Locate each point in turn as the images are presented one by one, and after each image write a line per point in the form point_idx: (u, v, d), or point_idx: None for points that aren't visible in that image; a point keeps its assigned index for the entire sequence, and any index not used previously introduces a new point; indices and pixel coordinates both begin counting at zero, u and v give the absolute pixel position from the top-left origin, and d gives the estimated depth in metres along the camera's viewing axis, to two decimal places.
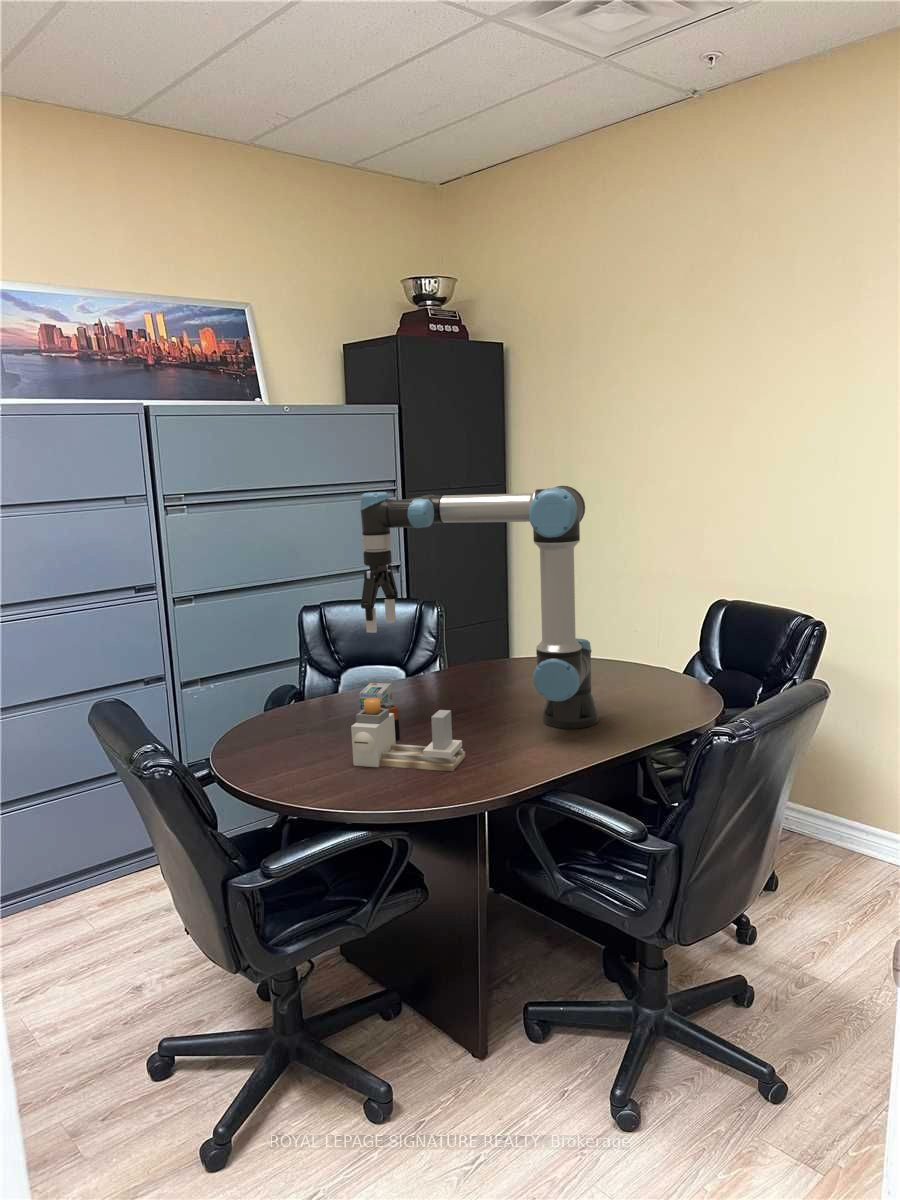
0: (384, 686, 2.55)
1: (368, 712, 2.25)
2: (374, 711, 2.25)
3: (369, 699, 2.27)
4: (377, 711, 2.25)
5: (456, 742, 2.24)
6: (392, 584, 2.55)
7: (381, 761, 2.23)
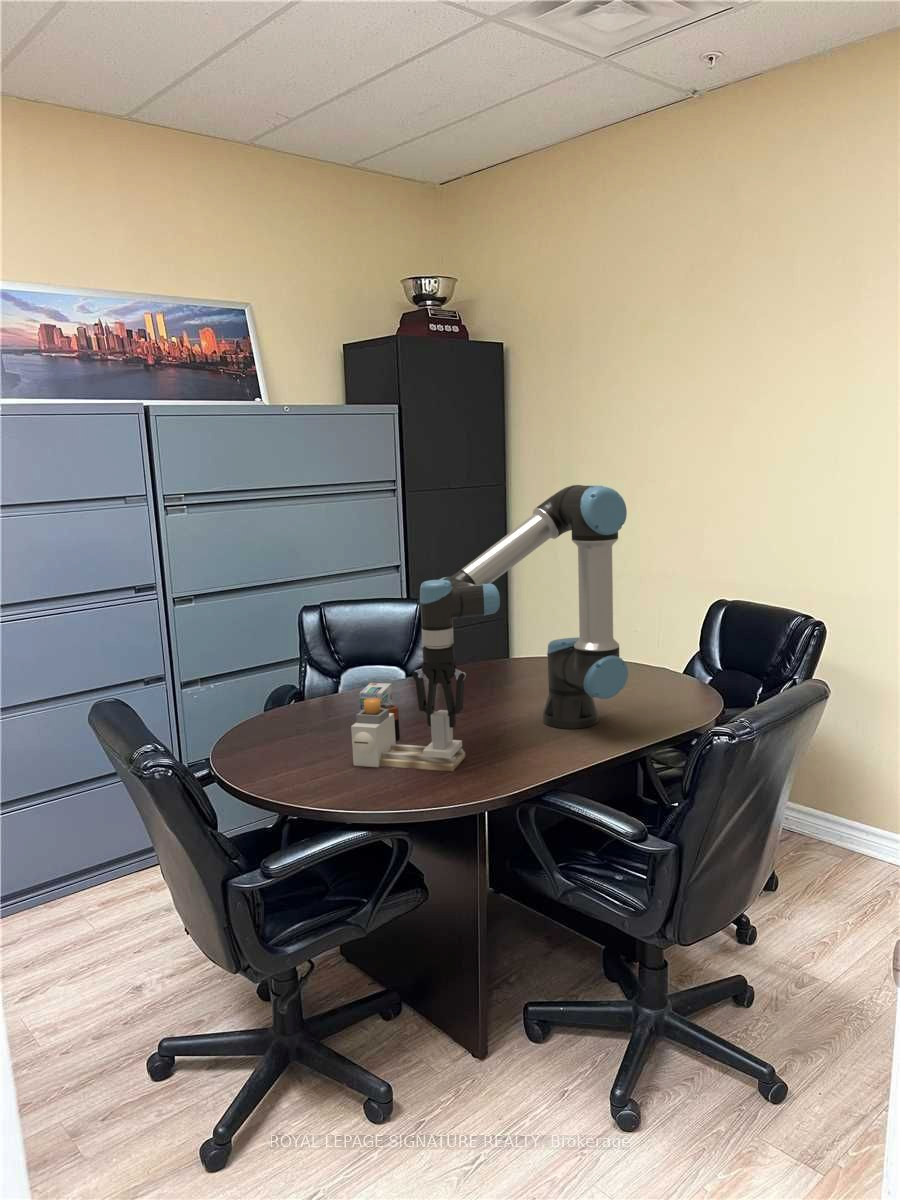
0: (384, 686, 2.55)
1: (368, 712, 2.25)
2: (374, 711, 2.25)
3: (369, 699, 2.27)
4: (377, 711, 2.25)
5: (456, 742, 2.24)
6: None
7: (381, 761, 2.23)
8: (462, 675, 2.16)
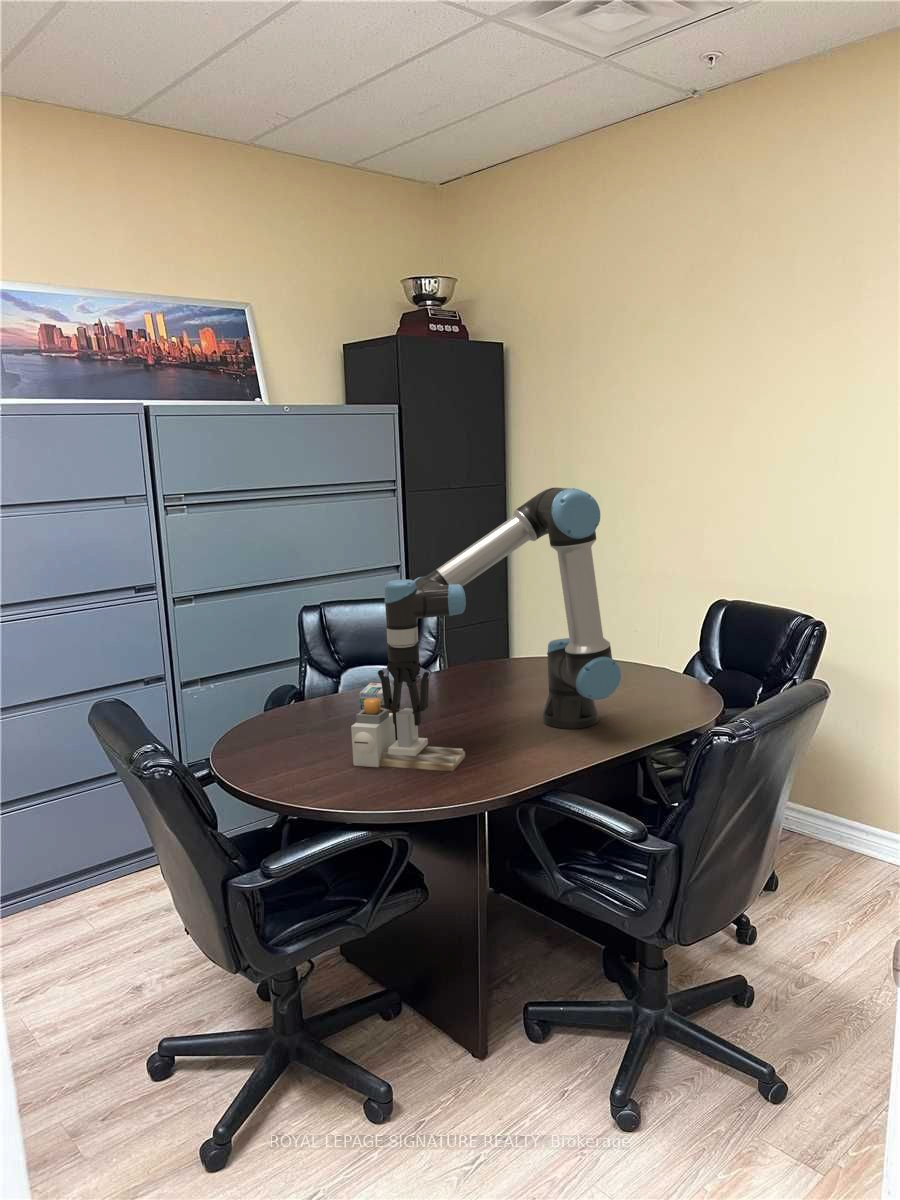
0: None
1: (368, 712, 2.25)
2: (374, 711, 2.25)
3: (369, 699, 2.27)
4: (377, 711, 2.25)
5: (422, 740, 2.26)
6: None
7: (381, 761, 2.23)
8: (426, 674, 2.19)
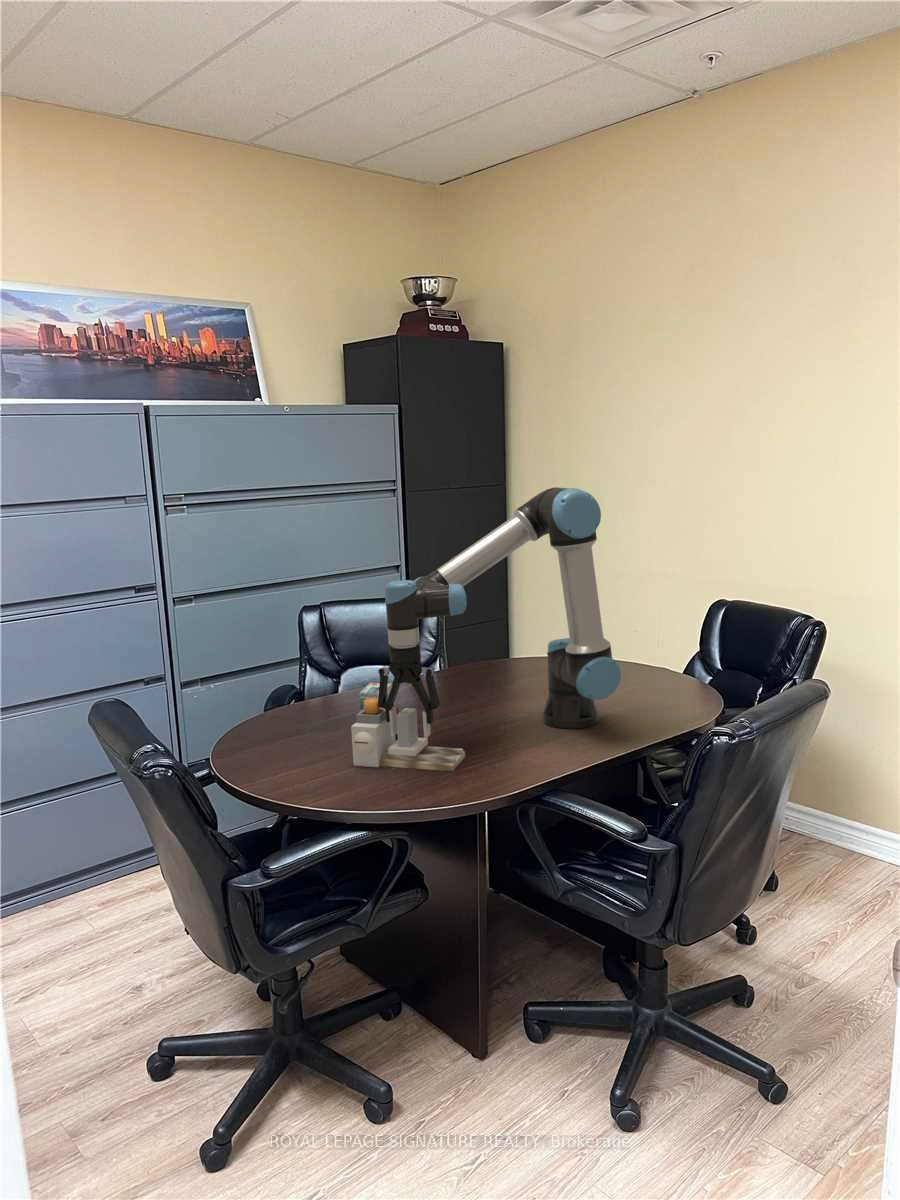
0: None
1: (368, 712, 2.25)
2: (374, 711, 2.25)
3: (369, 699, 2.27)
4: (377, 711, 2.25)
5: (422, 740, 2.26)
6: None
7: (381, 761, 2.23)
8: (429, 670, 2.19)
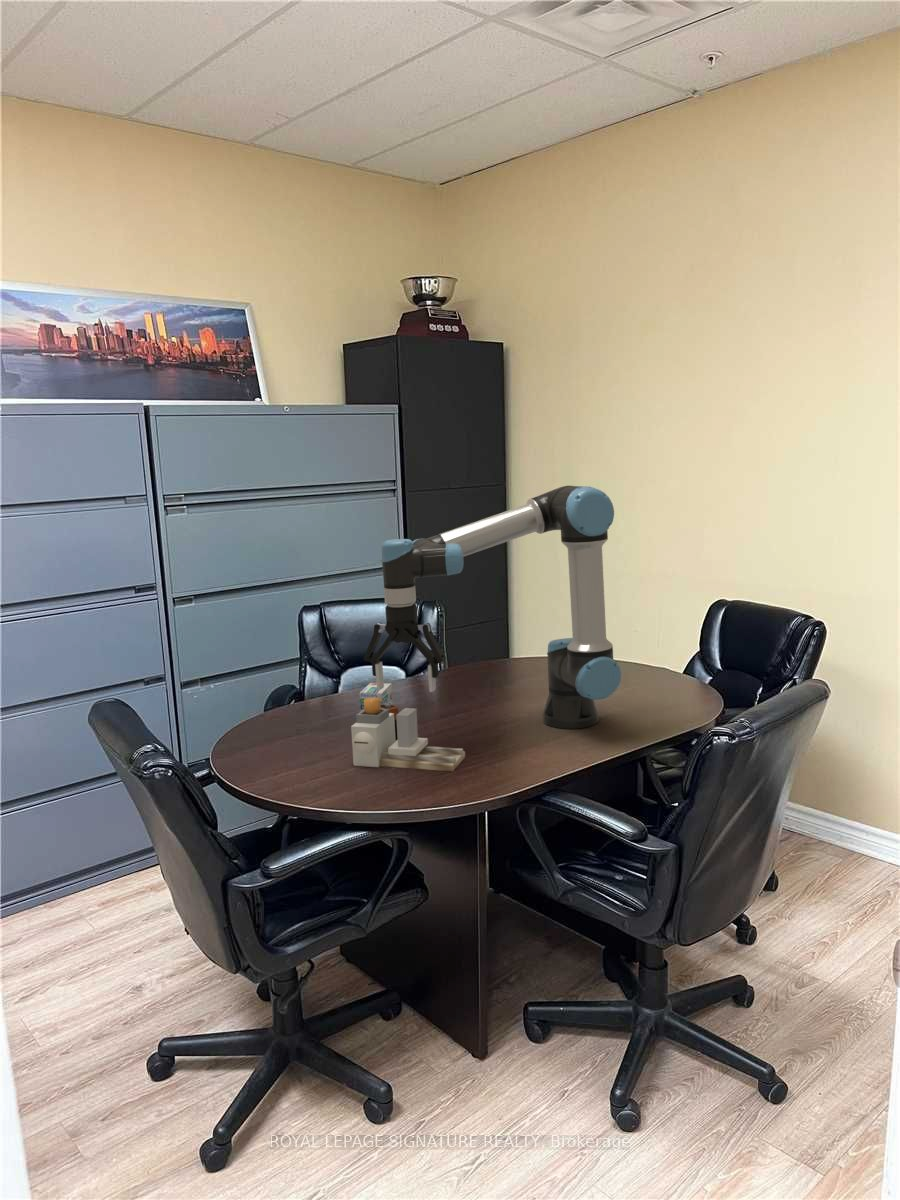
0: (384, 686, 2.55)
1: (368, 712, 2.25)
2: (374, 711, 2.25)
3: (369, 699, 2.27)
4: (377, 711, 2.25)
5: (422, 740, 2.26)
6: None
7: (381, 761, 2.23)
8: (425, 626, 2.17)
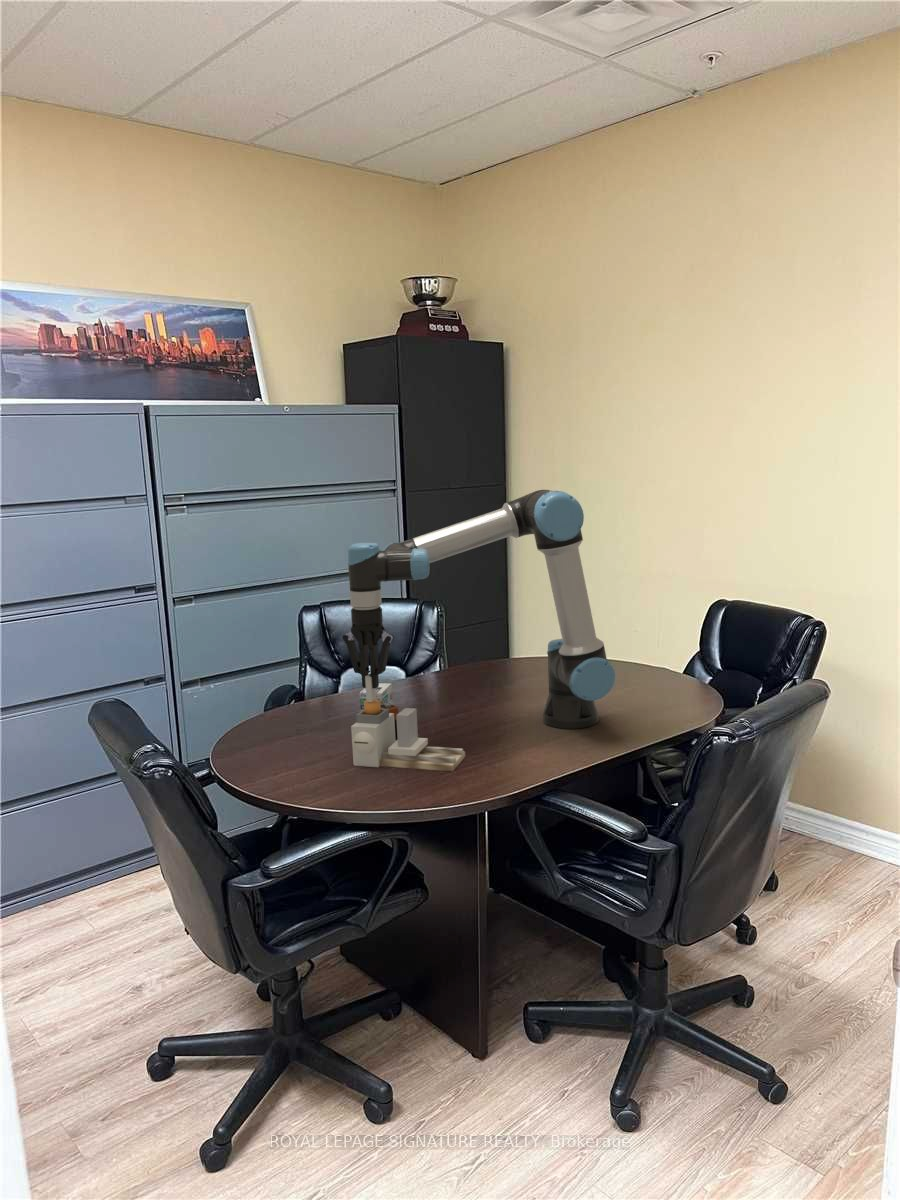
0: (384, 686, 2.55)
1: (368, 713, 2.25)
2: (374, 713, 2.25)
3: None
4: (377, 712, 2.25)
5: (422, 740, 2.26)
6: None
7: (381, 761, 2.23)
8: (388, 638, 2.20)
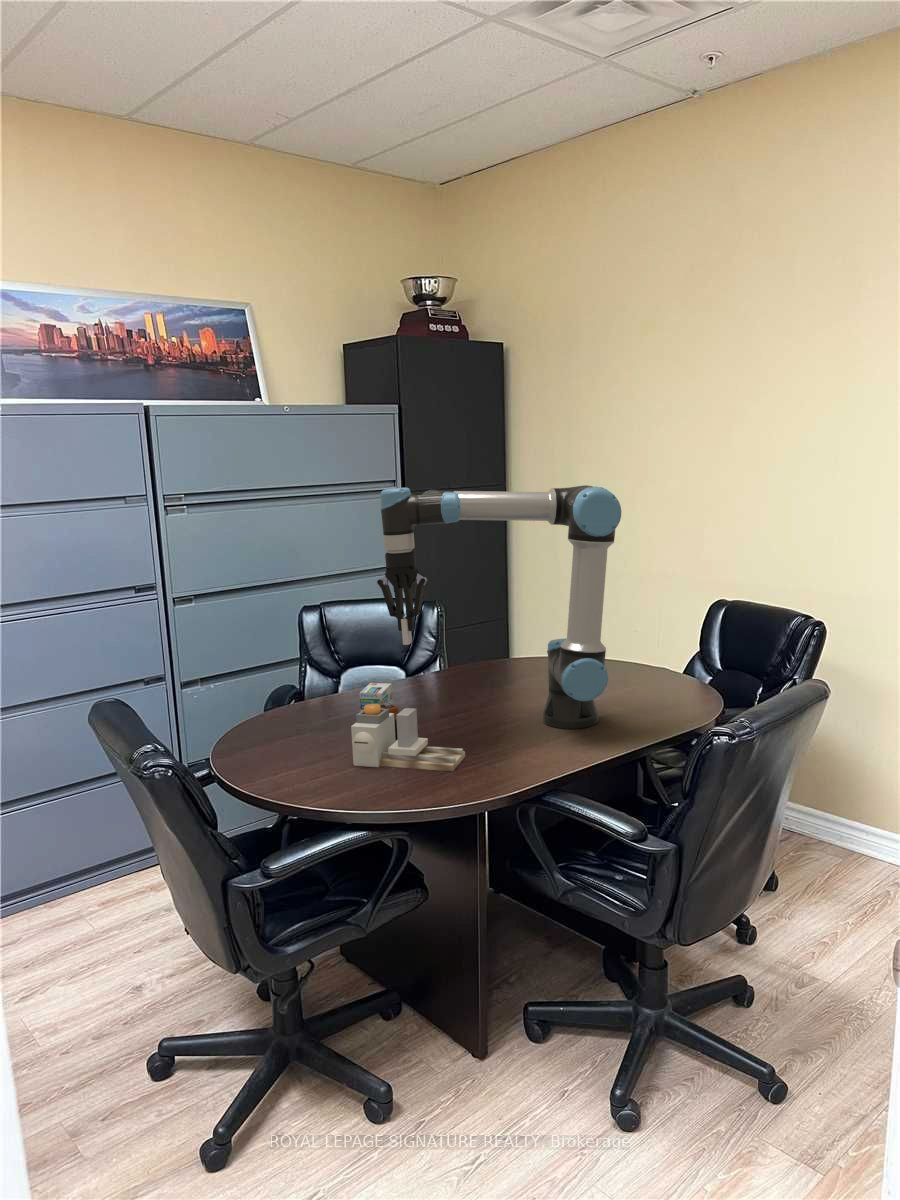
0: (384, 686, 2.55)
1: None
2: None
3: (369, 705, 2.27)
4: None
5: (422, 740, 2.26)
6: None
7: (381, 761, 2.23)
8: (423, 580, 2.25)
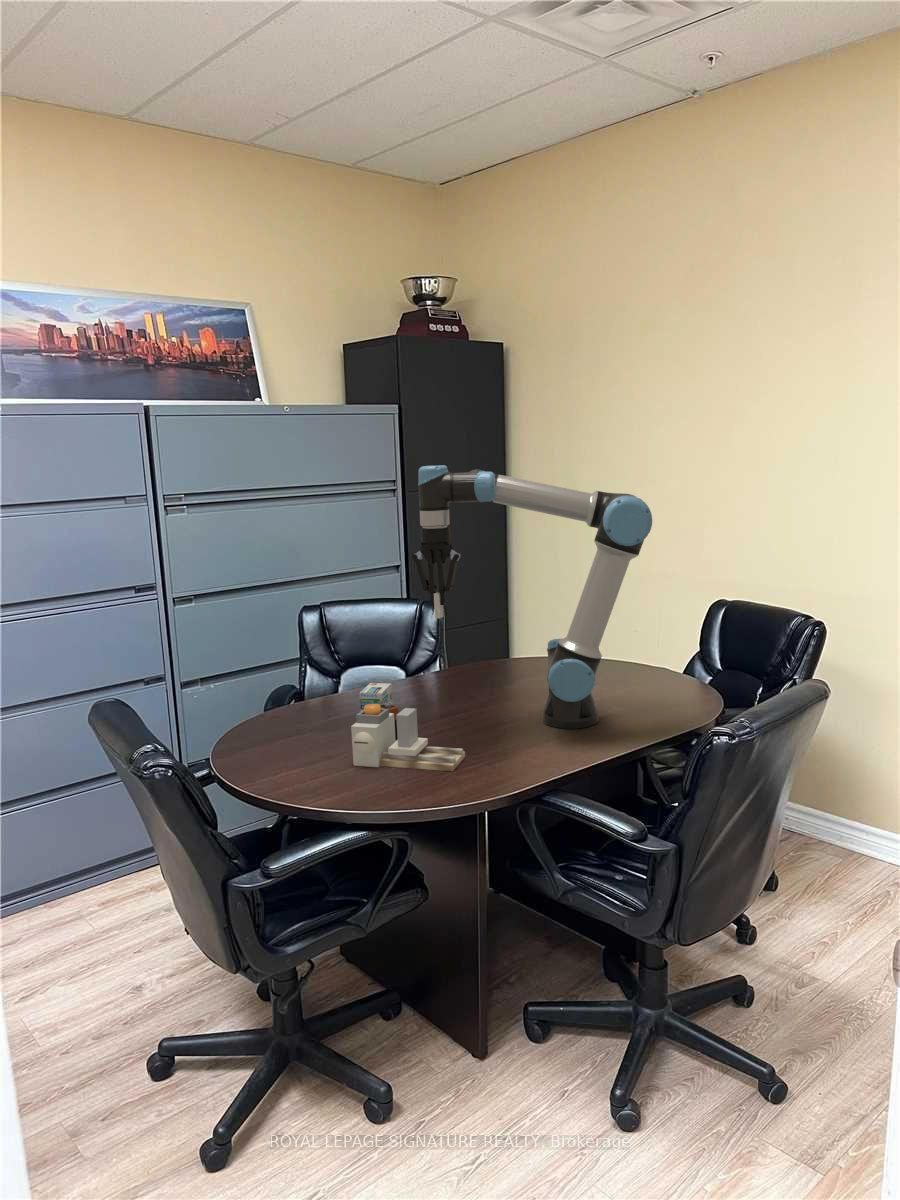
0: (384, 686, 2.55)
1: None
2: None
3: (369, 705, 2.27)
4: None
5: (422, 740, 2.26)
6: None
7: (381, 761, 2.23)
8: (457, 555, 2.31)
